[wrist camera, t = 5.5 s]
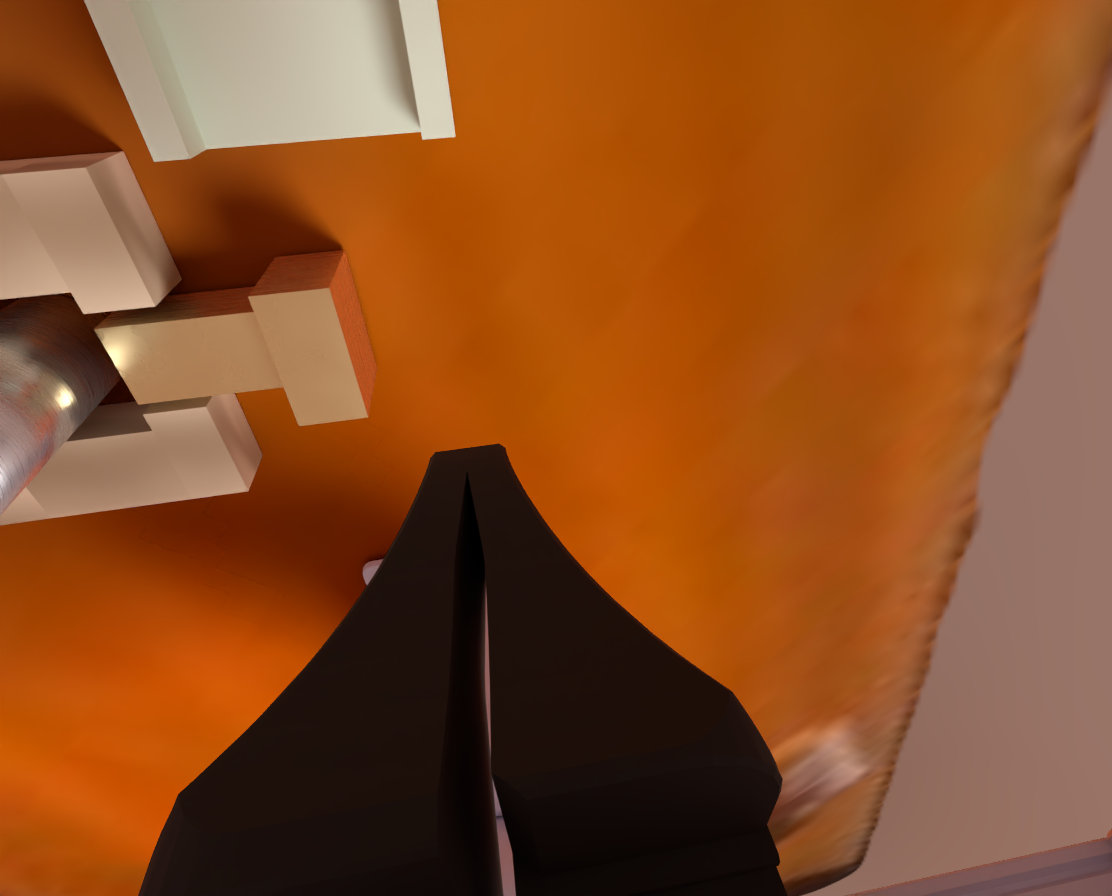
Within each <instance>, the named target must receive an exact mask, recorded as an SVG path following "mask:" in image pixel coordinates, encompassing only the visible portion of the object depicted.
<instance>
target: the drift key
mask: <svg viewBox="0 0 1112 896" xmlns="http://www.w3.org/2000/svg"><path fill="white" fill-rule="evenodd" d="M94 330H95V332H96V334H97V335H98V337H99V339H100V340H101V342H102V344H103V346H104V347H105V349H106V351H107V352H108V354H109V356H110V357H111V359H112V361H113V363H114V364H115V366H116V368H117V369H118V371H119V373H120V375H121V376H122V378H123V380H124V381H125V383H126V385H127V386H128V388H129V390H130V392H131V393H132V395H133V397H134V398H135V400H136V402H137V403H138V405H140V404H148V403H156V402H165V401H173V400H181V399H190V398H198V397H206V396H214V395H223V394H231V393H239V392H247V391H256V390H264V389H272V388H280V387H284V390H285V392H286V395H287V397H288V400H289V402H290V405H291V407H292V410H293V412H294V415H295V417H296V420H297V422H298V425H299V426H304V425H312V424H320V423H328V422H336V421H344V420H351V419H359V418H367V417H368V415H369V410H370V404H371V399H372V393H373V388H374V382H375V377H376V371H377V366H376V363H375V359H374V355H373V352H372V348H371V344H370V341H369V337H368V333H367V330H366V326H365V322H364V319H363V315H362V311H361V308H360V304H359V300H358V297H357V293H356V289H355V286H354V282H353V278H352V275H351V271H350V267H349V264H348V260H347V256H346V253H345V250H339V251H329V252H319V253H309V254H299V255H289V256H279V257H275V258H274V259H273V261H272V262H271V264H270V265H269V266H268V268H267V269H266V271H265V272H264V274H263V275H262V277H261V278H260V280H259V281H258V283H257V284H256V285H255V286H254V287H244V288H235V289H225V290H215V291H206V292H196V293H187V294H177V295H168V296H165V297H164V298H163V299H162V300H161V301H160V302H159V303H158V304H157V305H156V306H155V307H146V308H137V309H127V310H118V311H113V312H112V313H111V314H110V315H109V316H108V317H107V318H106V319H105V320H104V321H102V322H101V323H100V324H99V325H98V326H97V327H96V328H95V329H94Z"/></svg>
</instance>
